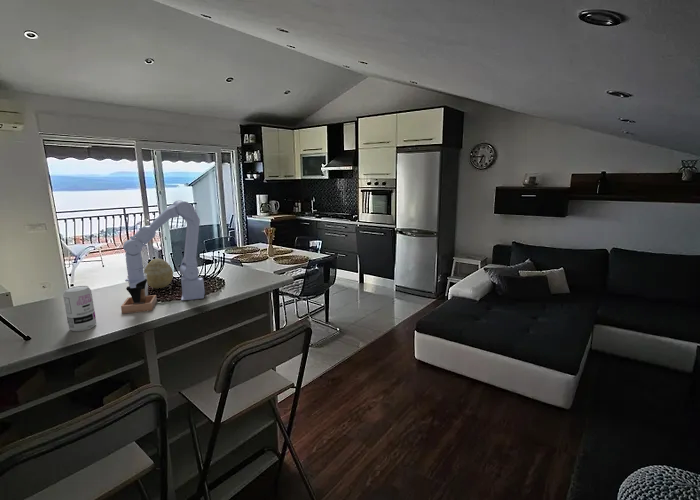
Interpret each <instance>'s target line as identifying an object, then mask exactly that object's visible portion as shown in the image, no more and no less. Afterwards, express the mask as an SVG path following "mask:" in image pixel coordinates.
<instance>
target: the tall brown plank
mask: <svg viewBox="0 0 700 500" xmlns="http://www.w3.org/2000/svg"><path fill="white" fill-rule="evenodd" d="M132 300H133V299H132ZM140 302H144V303H146V297H145V289H142V290H141V299H140ZM133 303H134V302H133Z"/></svg>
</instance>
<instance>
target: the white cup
mask: <svg viewBox="0 0 700 500" xmlns="http://www.w3.org/2000/svg"><path fill="white" fill-rule="evenodd" d="M126 277H127V278H126V279H128V275H127V276H126ZM144 277H145V279H147V274H146V273H144ZM127 282H128V281H127ZM128 286H130V283H129V282H128ZM145 296H149V285H148V281H147V282H146V285H145Z"/></svg>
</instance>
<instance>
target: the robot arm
mask: <svg viewBox="0 0 700 500" xmlns="http://www.w3.org/2000/svg"><path fill="white" fill-rule="evenodd" d="M179 217H180V218H182V219H183V220H184V221H185V222H186V230H185V231H186V232H185V241H184V252H183V257H182V260H181V264H180V265H179V267H178V272H179V274H180V275H181V277H180V283H181V284H180V285H181V292H182V293H181V298H180V300H181V301H190V300H191V301H192V300H199V299H204V297H205V294H206V292H205V291H206V289H205V282H204V278H203V277H199V275H200V272H199V268H198V266H199V265H198V260H197V255H198V253H197V252H198V242H199V234H200V233H199V231H200V221H201V220H200V217H199V215H198V213H197V212H196V209H195V206H193V205H192V204H191V203H190V202H188V201H183V200H179V199H178V200H175V201H174V202H173V203H172V204H170V205H168V206H167V207H166V208H165V209H164V210H163V211H162V212H161V213H160V214H159V215H158V216H157V217H156V218H155V219H154V220H153V221H152V222H151V223H150V225H143V226H140V227H139V228H138V231H137V232H135V234H134V235H130V237H129V239H127V240H126V241H124V243H123V246H122V248H123V250H124V251H125V253H124V254H125V263H126V270H127V276H128V278H125V279H124V280H125V282H126V283H127V282H129V283H130V286H129V285H128V286H126V289H125V290H126V291H127V292H128V293H129V295H130V297H132V299H133V302H134V303H139V302H140V299H141V290H142V289H145V285H146V282H147V279H145V277H144V265H143V264H144V263H143V257H142V250H143V247H145V246H146V245H147V244H149V242H150V241H152V239H154V238H155V237H156V234H157V230H159V229H160V228H162V226H163V225H164V224H166V223H167V222H168V221H169V220H171V219H174V218H179ZM129 283H128V284H129Z"/></svg>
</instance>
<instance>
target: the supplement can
mask: <svg viewBox="0 0 700 500" xmlns="http://www.w3.org/2000/svg"><path fill="white" fill-rule="evenodd" d="M62 297H63V303H64V308H65V309H64V310H65V314H66V319H67V324H68V325H67V326H68V330H70V331H71V332H84V331H88V330H90V329H93V328H94V327H95V326H96V325H97V318H96V317H97V316H96V311H95V305H94V299H93V293H92V289H91V288H90V287H89V286H88V285H78V286H72V287H68V288H66V289H64V292H63V295H62Z"/></svg>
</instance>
